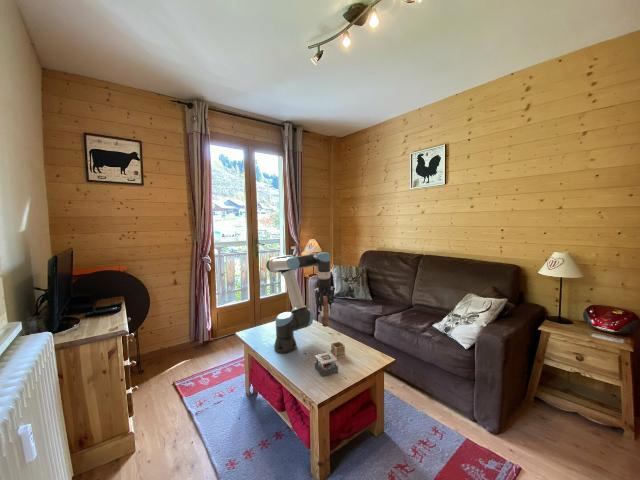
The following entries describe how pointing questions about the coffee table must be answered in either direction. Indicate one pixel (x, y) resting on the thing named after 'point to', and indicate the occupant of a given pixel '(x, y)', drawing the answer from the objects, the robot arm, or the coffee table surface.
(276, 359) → the coffee table surface
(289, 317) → the robot arm
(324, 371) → the grey button box
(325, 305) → the brown wooden rod
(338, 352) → the pen cup
